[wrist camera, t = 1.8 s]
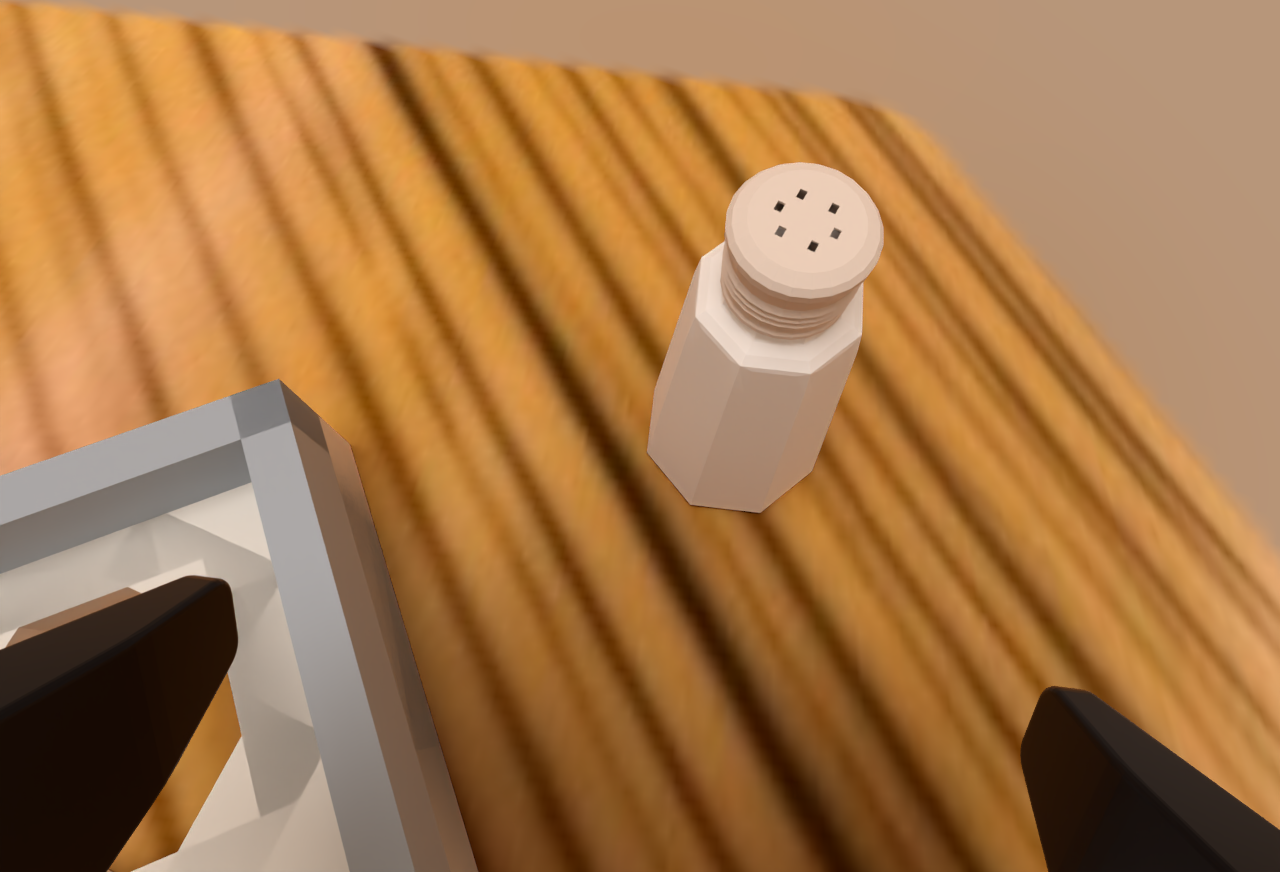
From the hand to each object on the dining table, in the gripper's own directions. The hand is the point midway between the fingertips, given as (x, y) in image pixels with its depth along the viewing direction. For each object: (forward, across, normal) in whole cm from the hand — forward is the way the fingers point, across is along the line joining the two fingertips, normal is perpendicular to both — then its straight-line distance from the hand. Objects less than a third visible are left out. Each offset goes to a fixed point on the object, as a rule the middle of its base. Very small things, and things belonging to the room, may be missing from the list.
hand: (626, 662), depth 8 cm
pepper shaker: (+15, -2, +4) cm, 16 cm away
